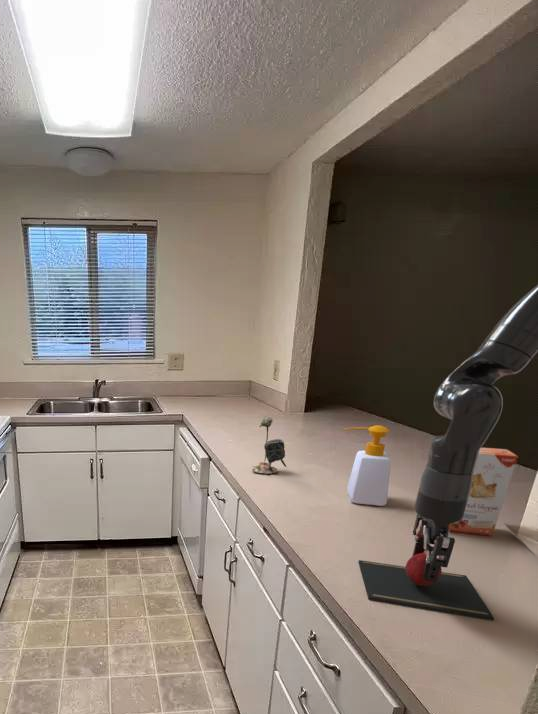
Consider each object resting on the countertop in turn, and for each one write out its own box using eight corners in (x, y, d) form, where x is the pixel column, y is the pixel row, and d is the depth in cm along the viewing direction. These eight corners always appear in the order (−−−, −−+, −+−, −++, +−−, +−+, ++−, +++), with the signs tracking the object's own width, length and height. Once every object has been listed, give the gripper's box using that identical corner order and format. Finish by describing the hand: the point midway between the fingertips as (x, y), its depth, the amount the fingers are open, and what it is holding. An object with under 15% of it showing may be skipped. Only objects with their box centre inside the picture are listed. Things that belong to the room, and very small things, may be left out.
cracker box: (427, 529, 109) (447, 450, 102) (420, 519, 114) (439, 443, 107) (494, 537, 105) (519, 455, 98) (483, 526, 110) (507, 447, 103)
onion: (439, 597, 82) (449, 561, 79) (404, 590, 85) (412, 554, 82) (433, 581, 87) (443, 546, 84) (400, 574, 89) (408, 540, 87)
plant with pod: (283, 477, 145) (290, 419, 138) (249, 472, 150) (254, 416, 143) (286, 470, 152) (293, 414, 145) (254, 465, 156) (259, 411, 149)
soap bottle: (330, 490, 134) (341, 420, 126) (380, 495, 130) (394, 422, 122) (333, 502, 125) (345, 427, 118) (387, 508, 121) (403, 431, 114)
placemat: (465, 577, 89) (466, 574, 89) (493, 620, 77) (494, 617, 77) (358, 562, 95) (358, 559, 95) (368, 599, 83) (369, 596, 83)
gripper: (483, 510, 71) (458, 594, 77) (454, 480, 84) (434, 554, 90) (430, 504, 74) (410, 586, 79) (410, 476, 86) (393, 549, 92)
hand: (423, 569), depth 85 cm, fingers open, 7 cm apart
